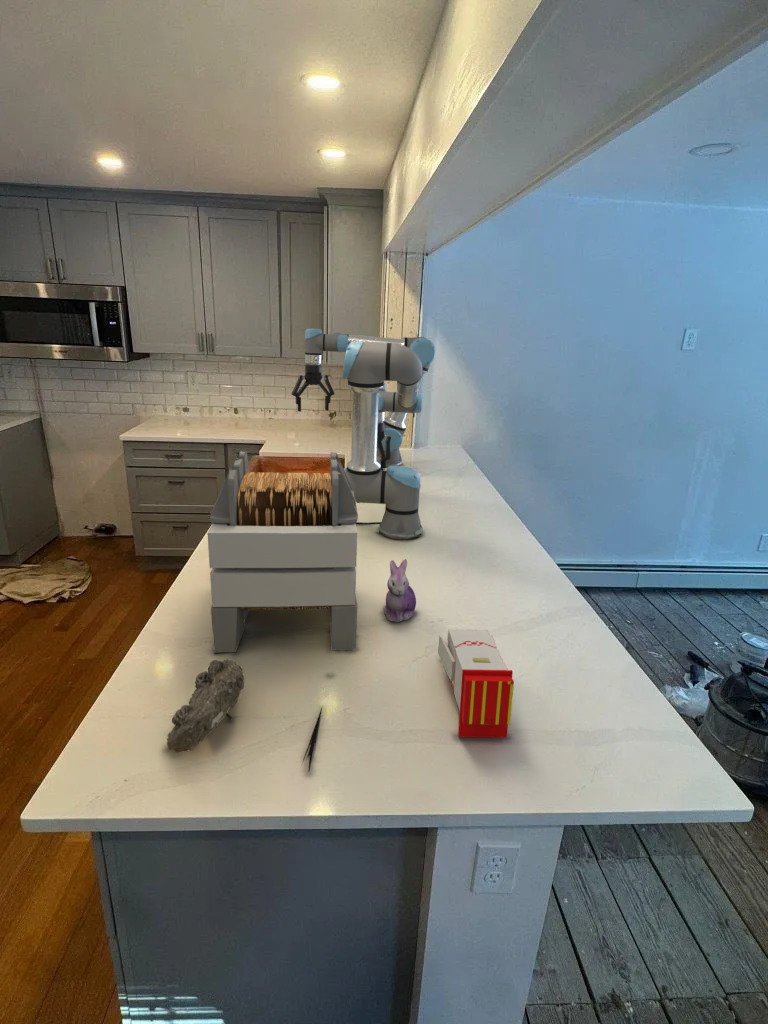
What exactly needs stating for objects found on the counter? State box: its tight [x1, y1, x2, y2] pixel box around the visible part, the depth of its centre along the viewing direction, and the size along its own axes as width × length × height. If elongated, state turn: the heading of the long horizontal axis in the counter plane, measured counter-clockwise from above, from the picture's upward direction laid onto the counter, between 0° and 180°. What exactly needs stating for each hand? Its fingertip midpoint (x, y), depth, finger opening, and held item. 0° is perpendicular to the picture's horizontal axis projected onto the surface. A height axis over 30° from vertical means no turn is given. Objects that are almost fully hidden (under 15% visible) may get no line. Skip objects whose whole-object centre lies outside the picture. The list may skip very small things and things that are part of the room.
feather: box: [301, 673, 332, 771], centre depth 108 cm, size 2×28×2 cm
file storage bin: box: [206, 450, 359, 654], centre depth 137 cm, size 34×33×41 cm
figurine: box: [384, 558, 417, 623], centre depth 145 cm, size 9×10×15 cm
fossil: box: [166, 658, 245, 754], centre depth 106 cm, size 22×10×15 cm
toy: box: [437, 628, 515, 738], centre depth 117 cm, size 12×13×30 cm
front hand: (373, 476), depth 238 cm, fingers closed on tin, 6 cm apart
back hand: (313, 410), depth 266 cm, fingers open, 13 cm apart
